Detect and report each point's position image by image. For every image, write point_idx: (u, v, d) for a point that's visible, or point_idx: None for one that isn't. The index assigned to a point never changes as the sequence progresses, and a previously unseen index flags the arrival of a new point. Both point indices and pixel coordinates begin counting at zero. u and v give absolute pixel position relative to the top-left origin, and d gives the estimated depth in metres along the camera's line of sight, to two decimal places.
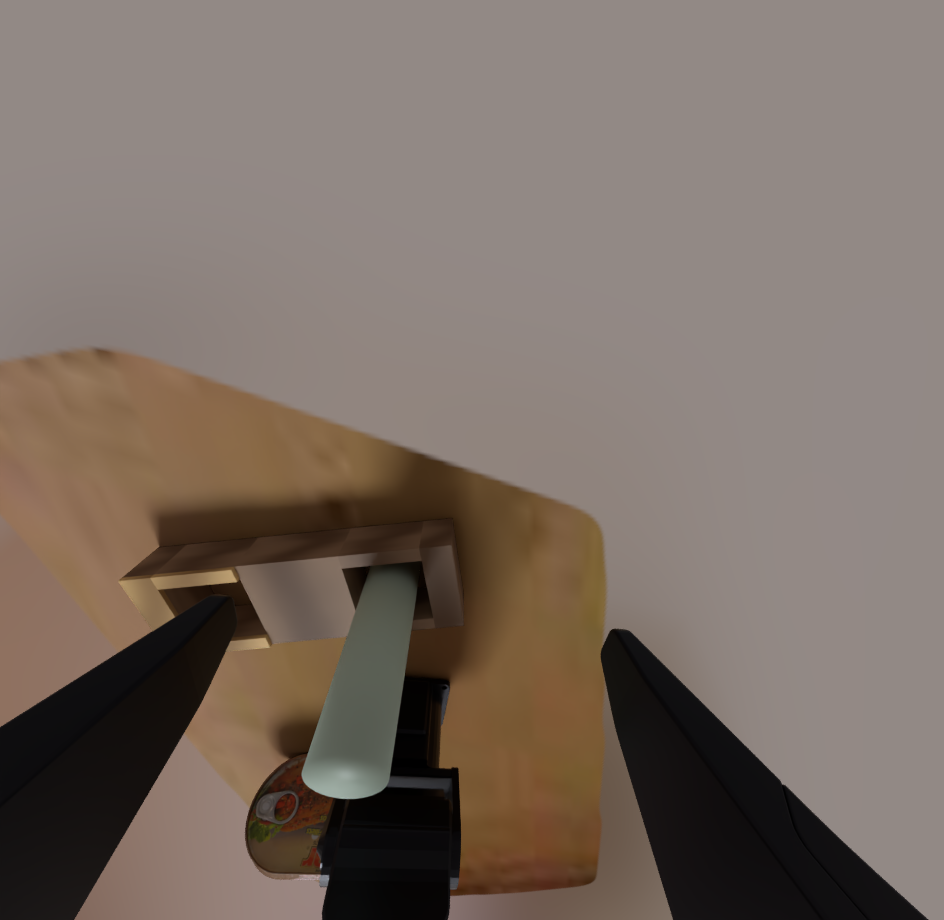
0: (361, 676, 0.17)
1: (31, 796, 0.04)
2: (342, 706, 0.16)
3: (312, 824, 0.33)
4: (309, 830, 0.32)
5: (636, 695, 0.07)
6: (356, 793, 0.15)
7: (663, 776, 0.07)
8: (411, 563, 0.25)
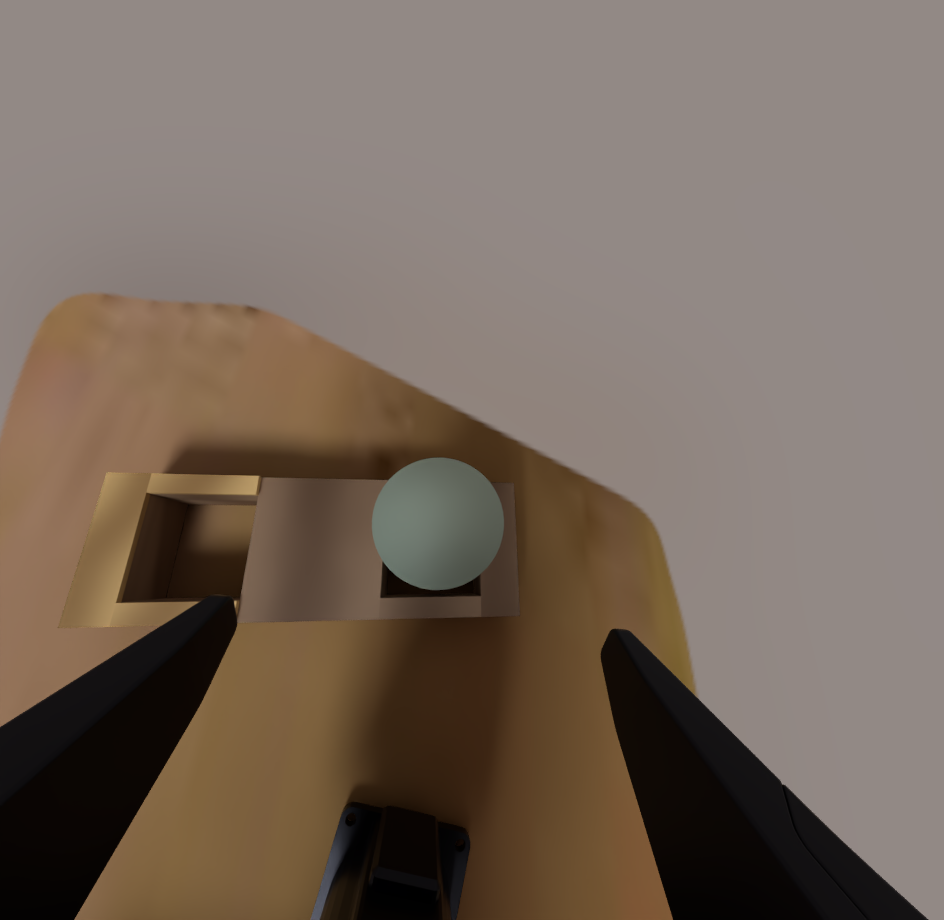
0: None
1: (32, 796, 0.04)
2: None
3: None
4: None
5: (636, 695, 0.07)
6: (443, 572, 0.09)
7: (663, 776, 0.07)
8: None
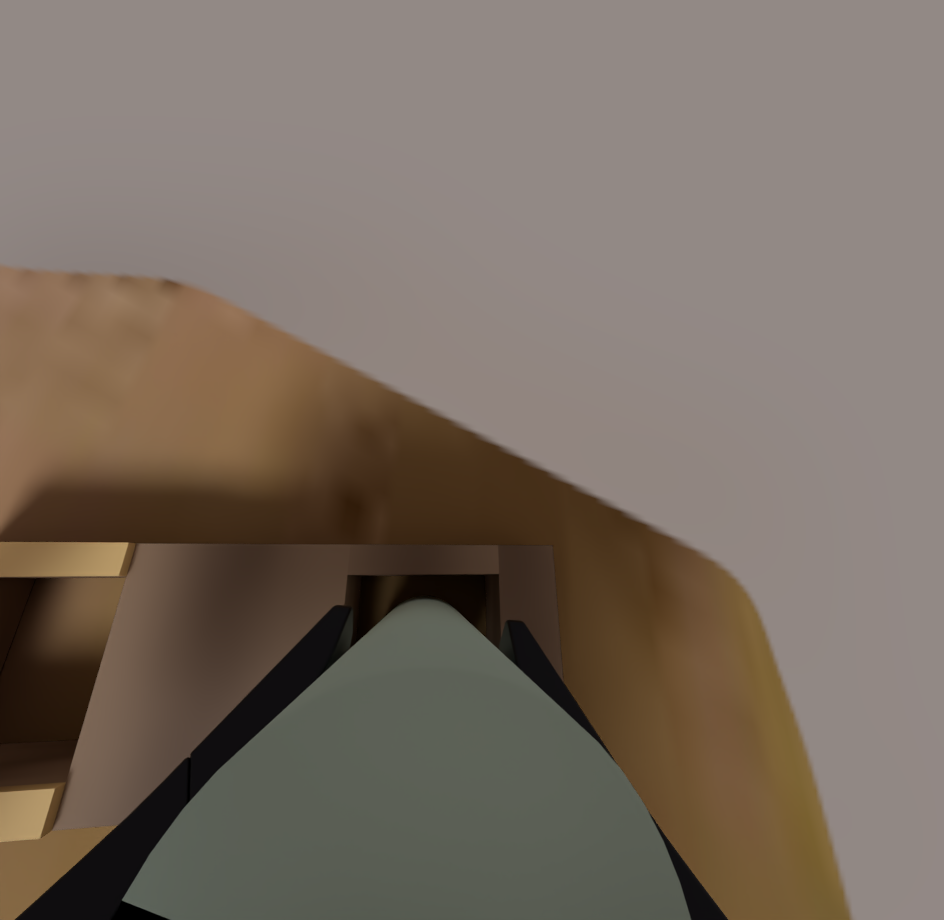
0: (441, 622, 0.06)
1: None
2: (403, 635, 0.04)
3: None
4: None
5: None
6: None
7: None
8: None
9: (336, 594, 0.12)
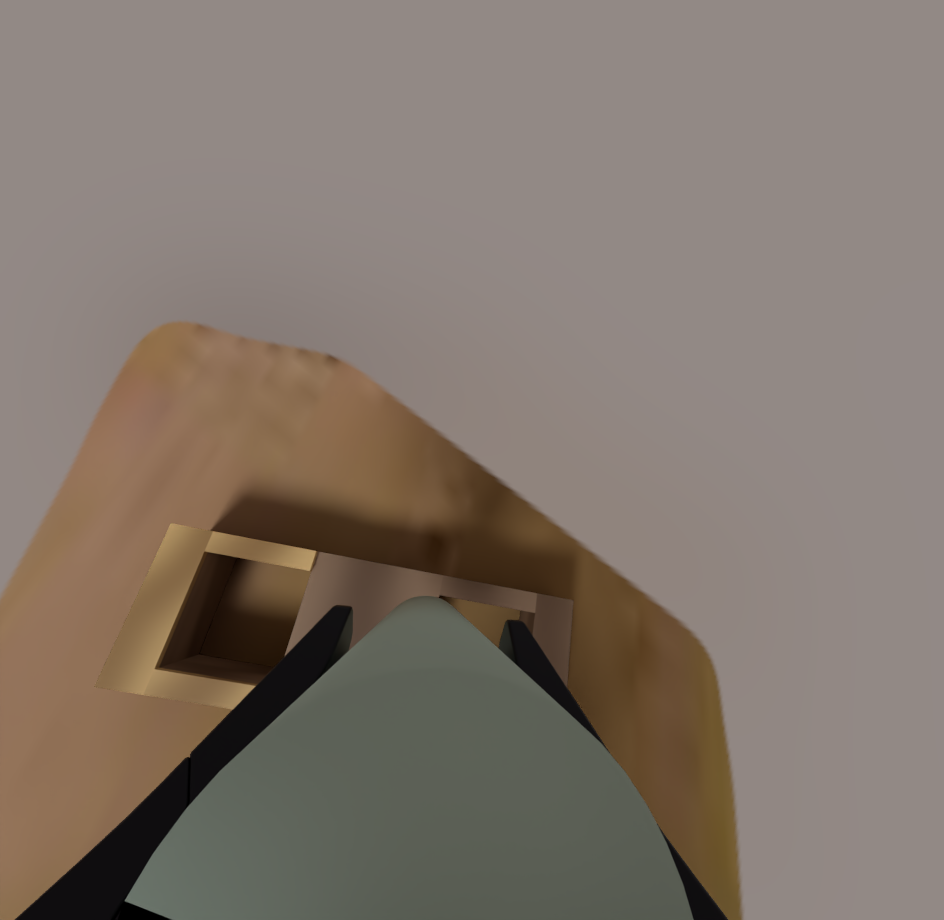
0: (442, 622, 0.06)
1: None
2: (405, 635, 0.04)
3: None
4: None
5: None
6: None
7: None
8: None
9: None
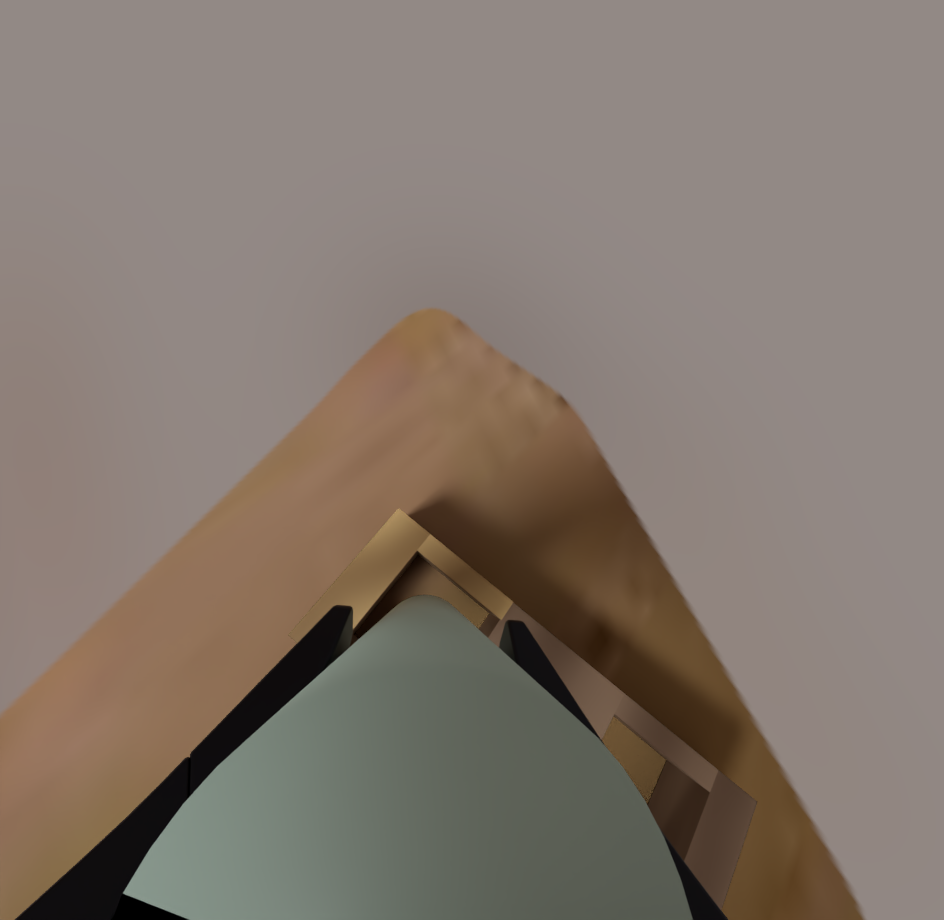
0: (441, 620, 0.06)
1: None
2: (403, 632, 0.04)
3: None
4: None
5: None
6: None
7: None
8: None
9: (603, 722, 0.16)
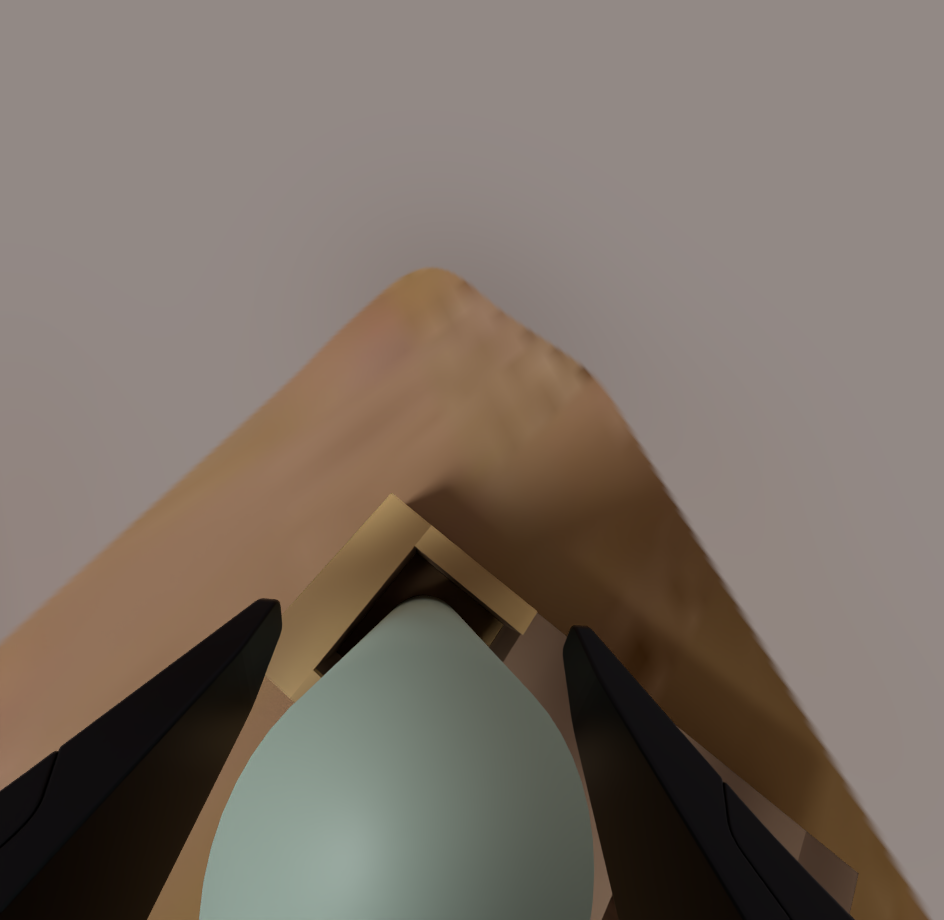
0: (435, 618, 0.07)
1: (118, 799, 0.05)
2: (405, 627, 0.06)
3: None
4: None
5: (590, 692, 0.07)
6: None
7: (612, 774, 0.06)
8: None
9: None
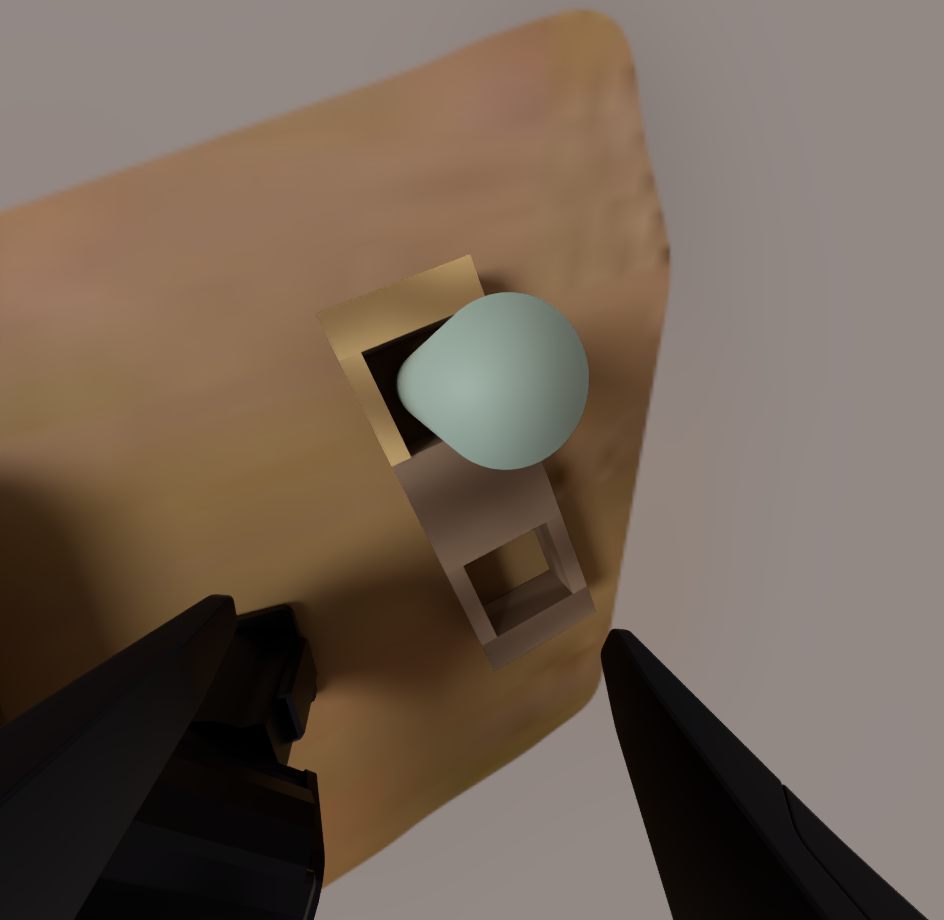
0: None
1: (31, 797, 0.04)
2: None
3: None
4: None
5: (636, 695, 0.07)
6: (486, 445, 0.07)
7: (663, 776, 0.07)
8: None
9: (534, 523, 0.20)
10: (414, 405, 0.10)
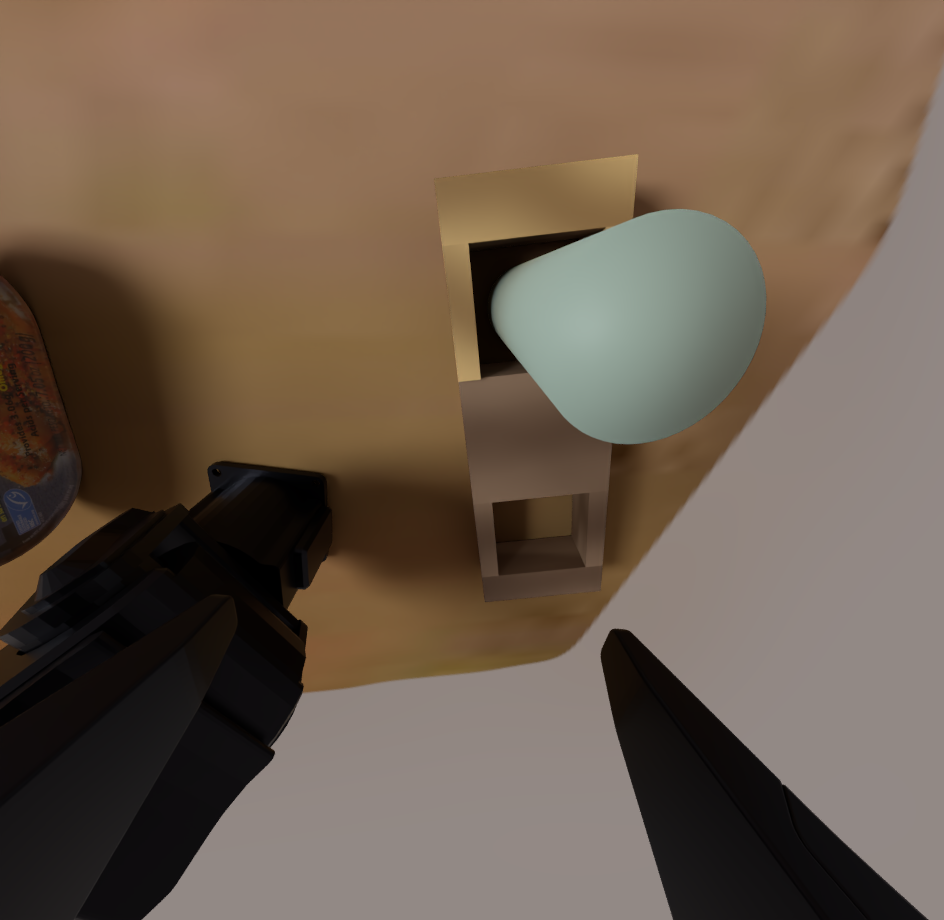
0: None
1: (31, 796, 0.04)
2: None
3: None
4: None
5: (636, 695, 0.07)
6: (587, 404, 0.06)
7: (663, 776, 0.07)
8: None
9: (578, 489, 0.19)
10: (513, 326, 0.09)
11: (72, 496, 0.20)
